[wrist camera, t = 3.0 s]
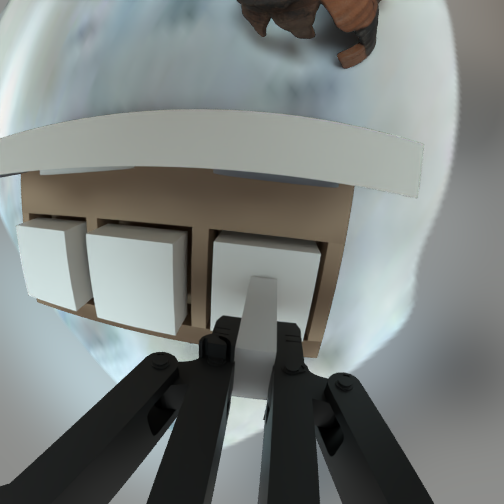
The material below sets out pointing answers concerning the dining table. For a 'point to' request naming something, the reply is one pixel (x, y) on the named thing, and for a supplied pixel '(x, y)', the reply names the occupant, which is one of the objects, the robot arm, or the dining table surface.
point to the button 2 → (263, 274)
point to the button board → (200, 225)
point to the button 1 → (56, 261)
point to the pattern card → (221, 148)
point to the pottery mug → (303, 15)
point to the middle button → (139, 276)
